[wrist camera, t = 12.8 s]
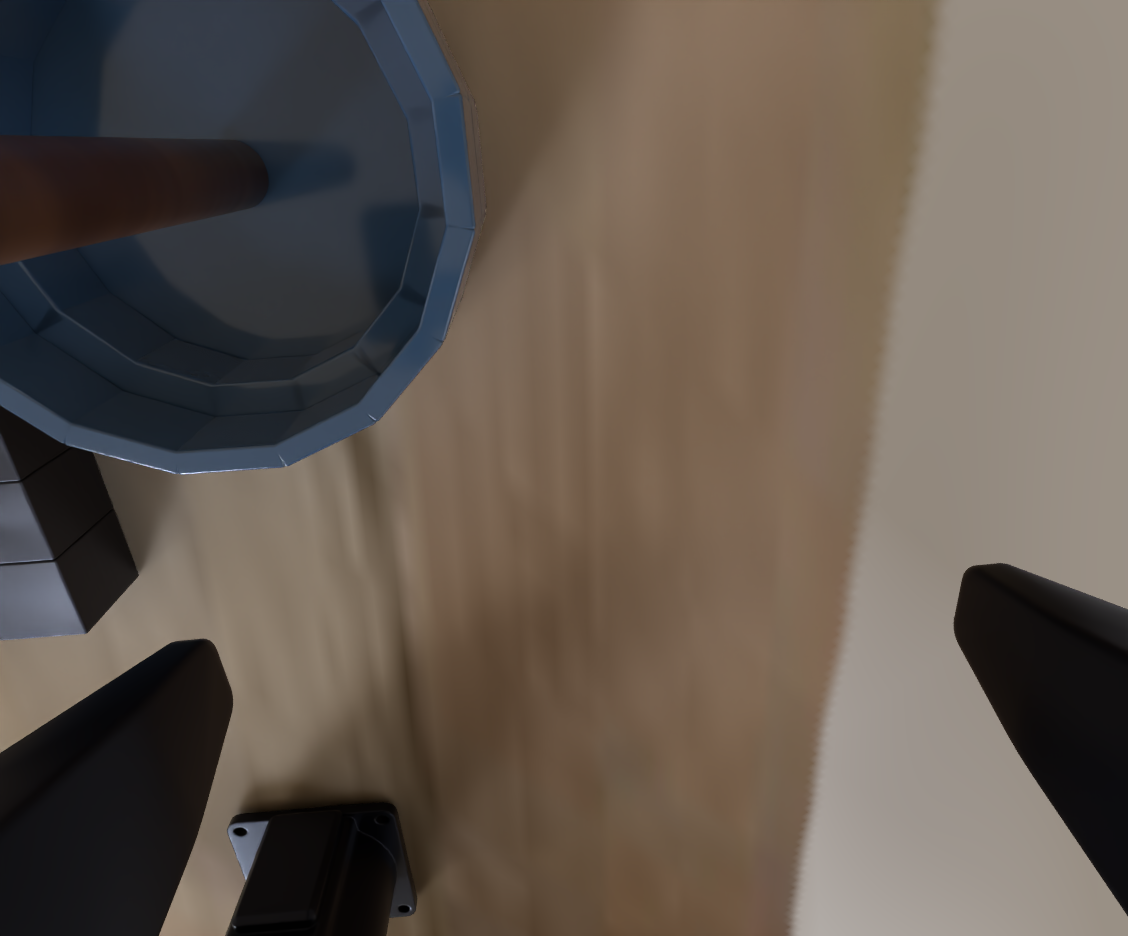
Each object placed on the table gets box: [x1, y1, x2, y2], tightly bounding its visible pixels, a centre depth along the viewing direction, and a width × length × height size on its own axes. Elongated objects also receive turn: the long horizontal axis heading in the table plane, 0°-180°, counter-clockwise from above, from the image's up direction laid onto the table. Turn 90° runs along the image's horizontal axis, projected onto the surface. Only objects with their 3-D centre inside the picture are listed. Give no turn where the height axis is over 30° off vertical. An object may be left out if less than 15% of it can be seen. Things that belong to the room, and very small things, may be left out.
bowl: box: [0, 0, 487, 475], centre depth 15 cm, size 12×12×5 cm
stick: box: [0, 135, 269, 265], centre depth 13 cm, size 2×2×10 cm
